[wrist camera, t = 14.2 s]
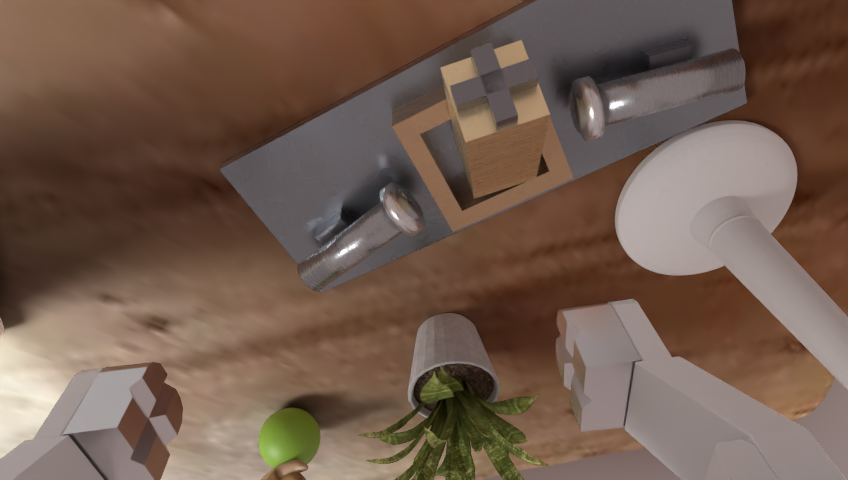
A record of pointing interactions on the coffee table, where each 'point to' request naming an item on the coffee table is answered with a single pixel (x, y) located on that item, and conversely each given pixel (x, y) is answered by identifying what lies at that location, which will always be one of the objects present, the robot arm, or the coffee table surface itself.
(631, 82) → the shaft right
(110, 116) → the coffee table surface
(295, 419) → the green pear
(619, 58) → the coupler station
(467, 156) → the pale yellow block
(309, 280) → the shaft left
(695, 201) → the candlestick
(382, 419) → the coffee table surface
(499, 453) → the house plant
